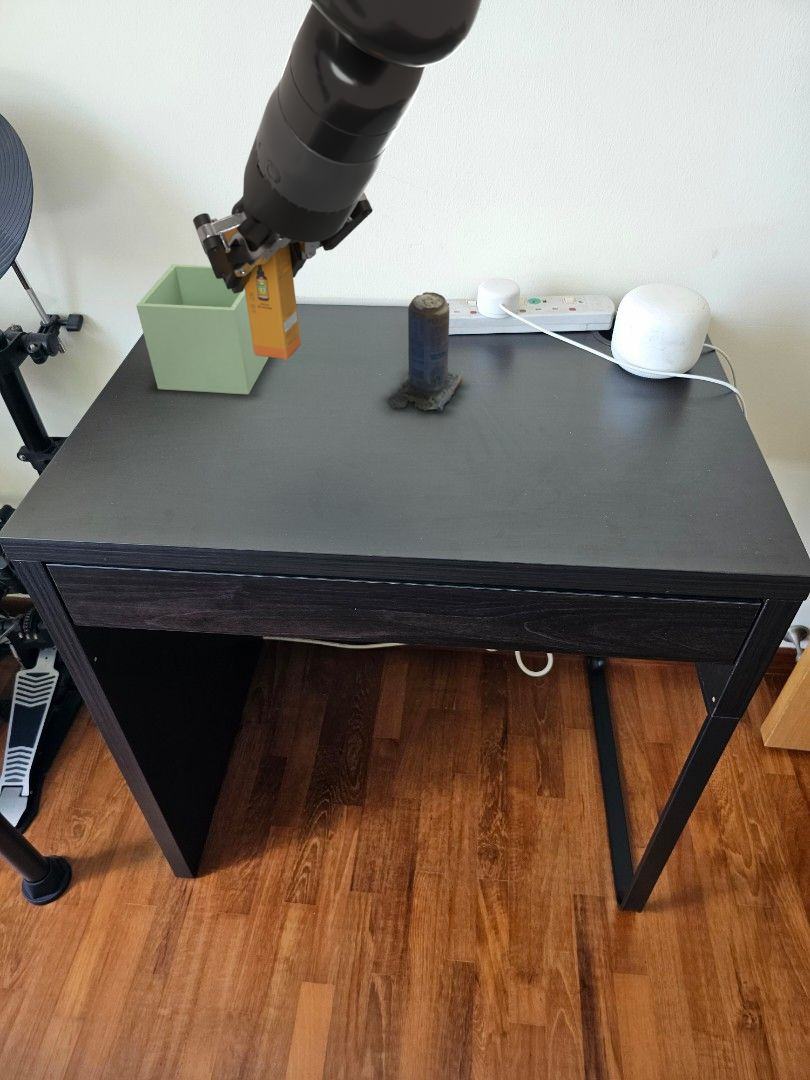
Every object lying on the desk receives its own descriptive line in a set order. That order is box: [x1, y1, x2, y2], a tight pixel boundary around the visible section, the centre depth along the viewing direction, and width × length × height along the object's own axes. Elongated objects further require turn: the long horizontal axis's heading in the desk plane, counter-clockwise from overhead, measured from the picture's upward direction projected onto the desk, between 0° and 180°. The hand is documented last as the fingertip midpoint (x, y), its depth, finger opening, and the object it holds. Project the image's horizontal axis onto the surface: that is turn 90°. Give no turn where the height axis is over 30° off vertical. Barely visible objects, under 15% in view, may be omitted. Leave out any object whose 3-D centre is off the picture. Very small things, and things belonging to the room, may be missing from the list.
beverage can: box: [387, 291, 463, 413], centre depth 88 cm, size 9×8×12 cm
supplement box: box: [245, 244, 302, 361], centre depth 65 cm, size 3×3×10 cm
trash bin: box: [135, 263, 270, 395], centre depth 94 cm, size 11×11×11 cm
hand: (258, 274), depth 66 cm, fingers closed on supplement box, 4 cm apart
